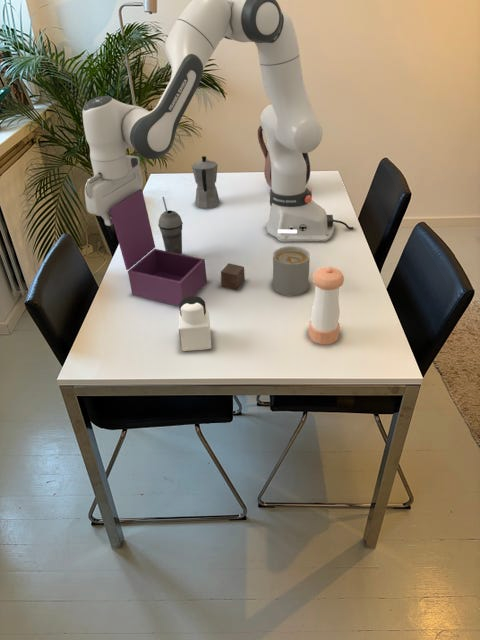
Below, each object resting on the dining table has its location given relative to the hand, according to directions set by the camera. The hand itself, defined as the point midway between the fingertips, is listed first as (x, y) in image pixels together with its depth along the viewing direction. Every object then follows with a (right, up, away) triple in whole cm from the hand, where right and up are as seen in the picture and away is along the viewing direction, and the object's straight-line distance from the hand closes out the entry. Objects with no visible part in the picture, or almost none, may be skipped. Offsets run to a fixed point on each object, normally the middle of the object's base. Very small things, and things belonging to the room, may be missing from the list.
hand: (120, 217), depth 135 cm
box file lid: (+4, -3, 0) cm, 5 cm away
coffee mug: (+47, -17, +8) cm, 51 cm away
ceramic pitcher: (+49, +23, +62) cm, 82 cm away
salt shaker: (+53, -32, -12) cm, 63 cm away
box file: (+12, -19, +7) cm, 24 cm away
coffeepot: (+20, +15, +53) cm, 59 cm away
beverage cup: (+12, -8, +22) cm, 26 cm away
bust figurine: (+22, -33, -12) cm, 41 cm away
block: (+30, -17, +8) cm, 36 cm away
